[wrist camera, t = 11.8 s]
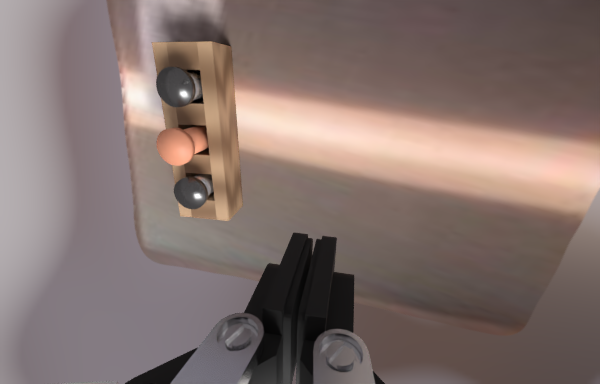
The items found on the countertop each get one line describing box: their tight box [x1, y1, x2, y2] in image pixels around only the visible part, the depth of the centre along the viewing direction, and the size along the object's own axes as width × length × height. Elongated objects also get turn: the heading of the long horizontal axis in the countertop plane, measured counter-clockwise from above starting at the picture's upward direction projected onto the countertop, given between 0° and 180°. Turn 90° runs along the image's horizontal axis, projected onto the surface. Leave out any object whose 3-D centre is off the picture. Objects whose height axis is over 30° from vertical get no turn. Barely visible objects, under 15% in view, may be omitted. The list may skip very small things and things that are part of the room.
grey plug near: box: [156, 67, 203, 107], centre depth 33 cm, size 4×4×7 cm
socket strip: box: [152, 41, 243, 221], centre depth 36 cm, size 21×7×5 cm, turn 0°
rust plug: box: [157, 125, 209, 166], centre depth 33 cm, size 4×4×7 cm
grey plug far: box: [174, 174, 214, 209], centre depth 37 cm, size 4×4×7 cm
